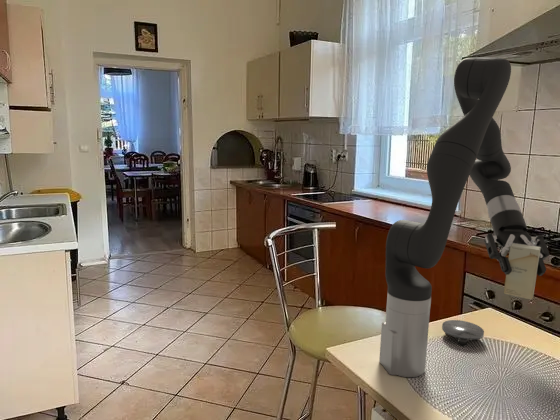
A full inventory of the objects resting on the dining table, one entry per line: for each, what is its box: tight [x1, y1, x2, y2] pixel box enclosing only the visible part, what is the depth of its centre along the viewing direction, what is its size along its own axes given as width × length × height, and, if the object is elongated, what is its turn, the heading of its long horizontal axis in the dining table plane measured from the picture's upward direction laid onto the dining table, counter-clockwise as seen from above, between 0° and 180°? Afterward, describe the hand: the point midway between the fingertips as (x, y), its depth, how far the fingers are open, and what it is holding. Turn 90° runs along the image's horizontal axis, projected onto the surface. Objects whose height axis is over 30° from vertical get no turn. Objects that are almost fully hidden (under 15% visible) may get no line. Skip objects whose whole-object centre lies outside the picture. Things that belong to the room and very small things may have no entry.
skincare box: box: [503, 243, 541, 300], centre depth 104 cm, size 6×4×12 cm
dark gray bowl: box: [441, 319, 485, 347], centre depth 113 cm, size 10×10×3 cm
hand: (525, 273), depth 103 cm, fingers closed on skincare box, 7 cm apart
